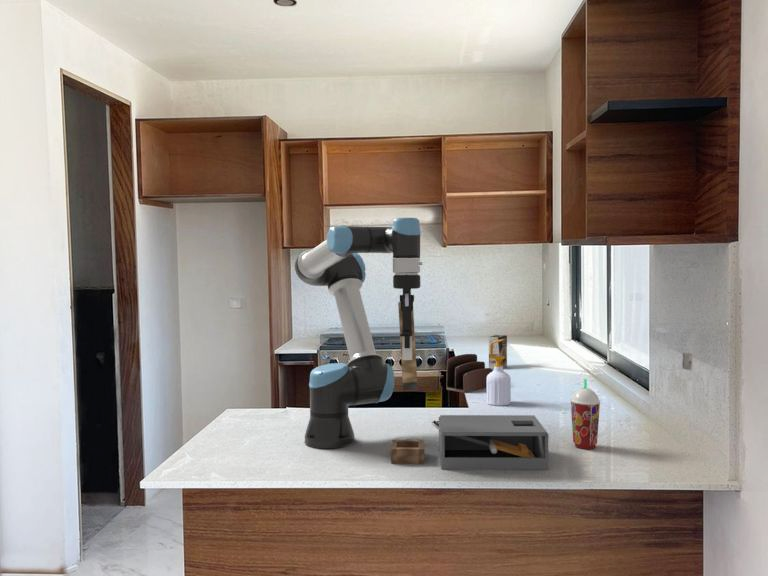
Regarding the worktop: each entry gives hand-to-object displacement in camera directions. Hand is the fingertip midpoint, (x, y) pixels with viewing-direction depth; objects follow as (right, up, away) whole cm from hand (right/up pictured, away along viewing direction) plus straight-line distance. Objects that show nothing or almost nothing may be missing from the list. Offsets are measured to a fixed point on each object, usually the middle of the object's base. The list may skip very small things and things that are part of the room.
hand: (407, 358), depth 180 cm
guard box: (+23, -28, 0) cm, 36 cm away
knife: (+13, -27, +30) cm, 42 cm away
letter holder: (+30, -24, +97) cm, 105 cm away
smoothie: (+53, -27, +11) cm, 60 cm away
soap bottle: (+37, -25, +68) cm, 81 cm away
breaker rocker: (+23, -23, 0) cm, 33 cm away
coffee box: (+51, -21, +146) cm, 156 cm away
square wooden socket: (0, -28, +1) cm, 28 cm away
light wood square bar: (+1, -8, 0) cm, 8 cm away
